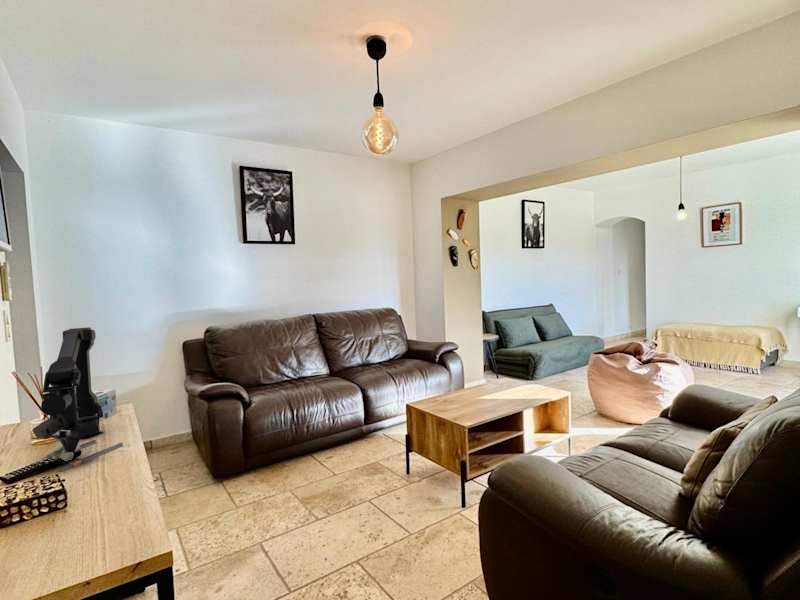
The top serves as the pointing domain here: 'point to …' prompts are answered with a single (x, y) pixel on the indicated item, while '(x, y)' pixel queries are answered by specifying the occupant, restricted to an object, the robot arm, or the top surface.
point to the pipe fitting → (61, 454)
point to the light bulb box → (107, 402)
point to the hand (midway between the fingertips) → (70, 455)
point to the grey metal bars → (78, 462)
